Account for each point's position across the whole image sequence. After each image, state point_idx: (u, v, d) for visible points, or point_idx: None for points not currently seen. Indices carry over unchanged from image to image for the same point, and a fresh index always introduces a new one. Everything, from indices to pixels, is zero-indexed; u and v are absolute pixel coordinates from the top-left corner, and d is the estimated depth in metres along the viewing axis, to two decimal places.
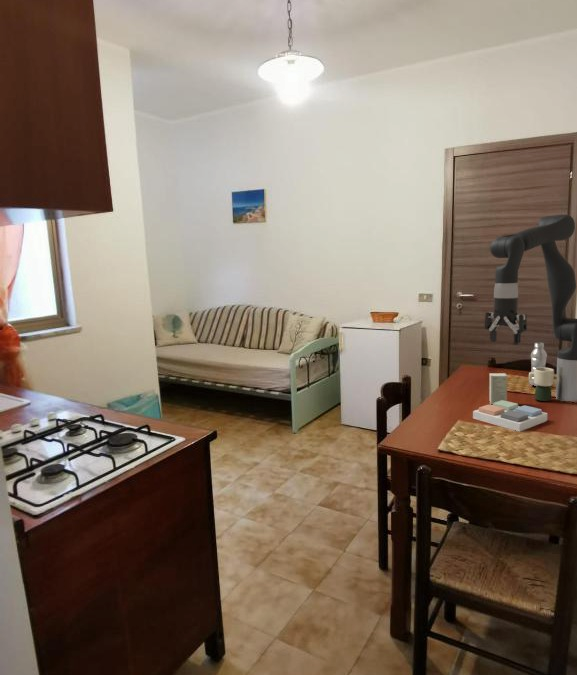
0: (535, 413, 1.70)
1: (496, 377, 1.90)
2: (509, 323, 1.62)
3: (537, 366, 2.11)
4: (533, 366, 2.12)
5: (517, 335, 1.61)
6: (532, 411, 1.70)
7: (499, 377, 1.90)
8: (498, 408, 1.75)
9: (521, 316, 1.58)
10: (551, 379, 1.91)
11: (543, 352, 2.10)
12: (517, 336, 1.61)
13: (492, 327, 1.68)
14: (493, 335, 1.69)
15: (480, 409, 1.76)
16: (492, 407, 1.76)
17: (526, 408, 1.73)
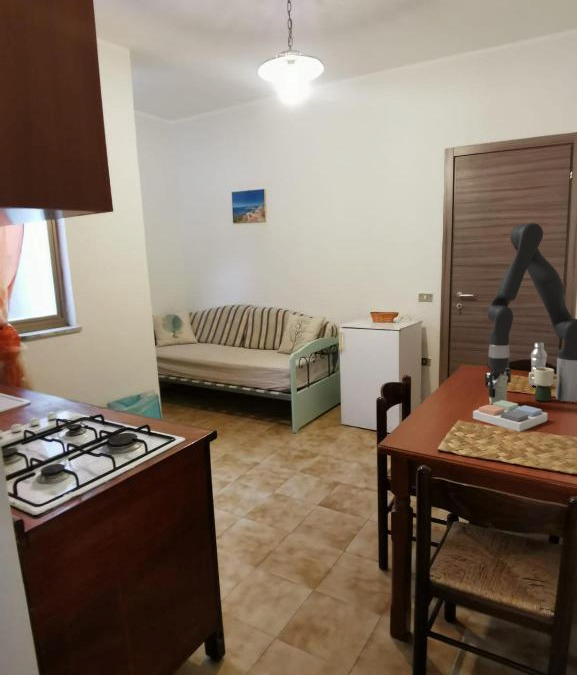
0: (535, 413, 1.70)
1: None
2: None
3: (537, 366, 2.11)
4: (533, 366, 2.12)
5: None
6: (532, 411, 1.70)
7: None
8: (498, 408, 1.75)
9: (510, 369, 1.94)
10: (551, 379, 1.91)
11: (543, 352, 2.10)
12: None
13: (495, 384, 1.90)
14: None
15: (480, 409, 1.76)
16: (492, 407, 1.76)
17: (526, 408, 1.73)
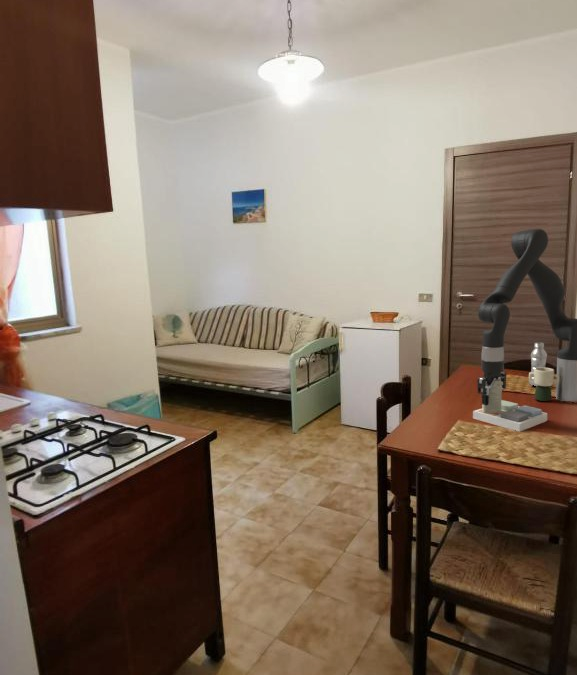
0: (535, 413, 1.70)
1: None
2: None
3: (537, 366, 2.11)
4: (533, 366, 2.12)
5: None
6: (532, 411, 1.70)
7: None
8: None
9: (505, 374, 1.76)
10: (551, 379, 1.91)
11: (543, 352, 2.10)
12: None
13: (488, 391, 1.72)
14: None
15: None
16: None
17: (526, 408, 1.73)
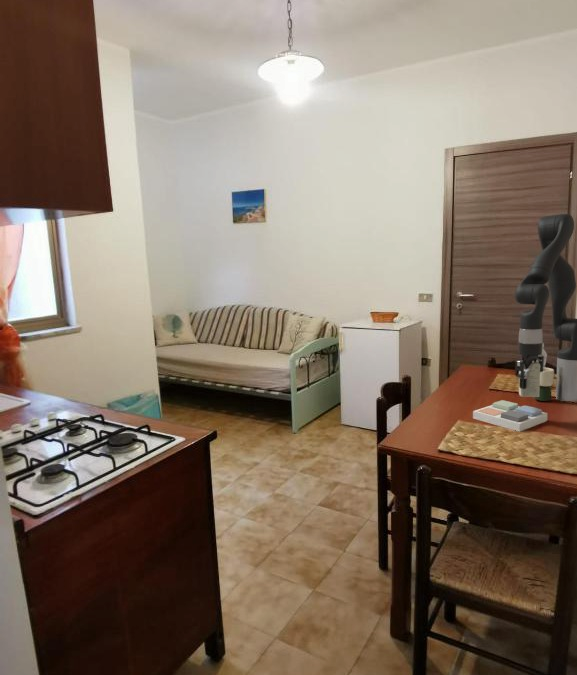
0: (535, 413, 1.70)
1: None
2: None
3: None
4: None
5: None
6: (532, 411, 1.70)
7: None
8: (498, 411, 1.75)
9: (543, 357, 1.72)
10: (551, 379, 1.91)
11: (543, 352, 2.10)
12: None
13: (526, 374, 1.68)
14: None
15: None
16: (492, 410, 1.76)
17: (526, 408, 1.73)
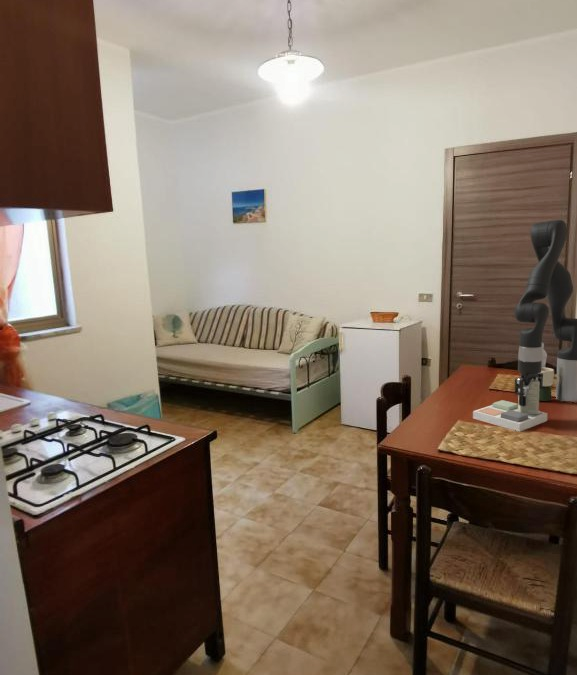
0: None
1: None
2: None
3: None
4: None
5: None
6: (532, 415, 1.70)
7: None
8: (498, 411, 1.75)
9: (542, 374, 1.73)
10: (551, 379, 1.91)
11: (543, 352, 2.10)
12: None
13: (526, 391, 1.69)
14: None
15: None
16: (492, 410, 1.76)
17: None
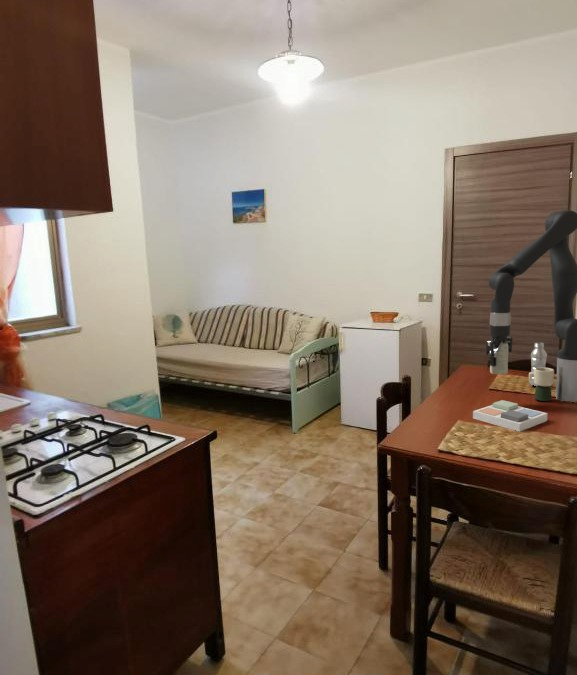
0: None
1: None
2: None
3: (537, 366, 2.11)
4: (533, 366, 2.12)
5: None
6: (532, 415, 1.70)
7: None
8: (498, 411, 1.75)
9: (511, 338, 1.92)
10: (551, 379, 1.91)
11: (543, 352, 2.10)
12: None
13: (496, 353, 1.88)
14: None
15: None
16: (492, 410, 1.76)
17: (526, 412, 1.73)
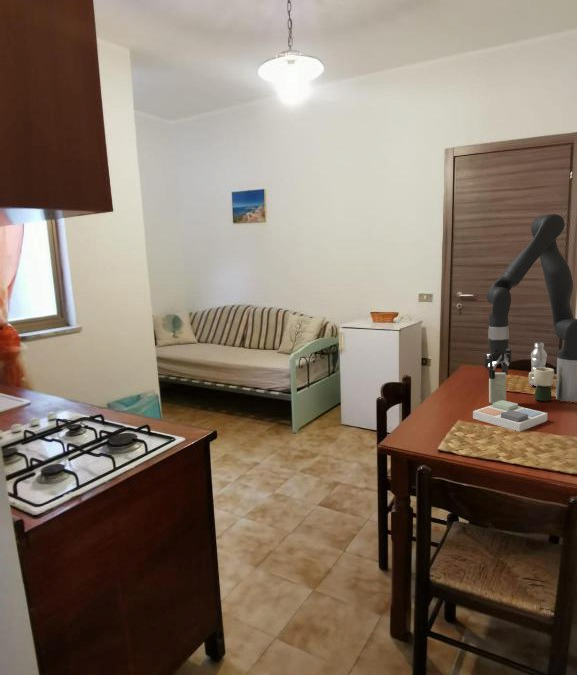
0: None
1: (495, 375, 1.92)
2: (506, 358, 1.92)
3: (537, 366, 2.11)
4: (533, 366, 2.12)
5: None
6: (532, 415, 1.70)
7: (498, 375, 1.91)
8: (498, 411, 1.75)
9: (510, 350, 1.95)
10: (551, 379, 1.91)
11: (543, 352, 2.10)
12: None
13: (495, 366, 1.90)
14: None
15: None
16: (492, 410, 1.76)
17: (526, 412, 1.73)
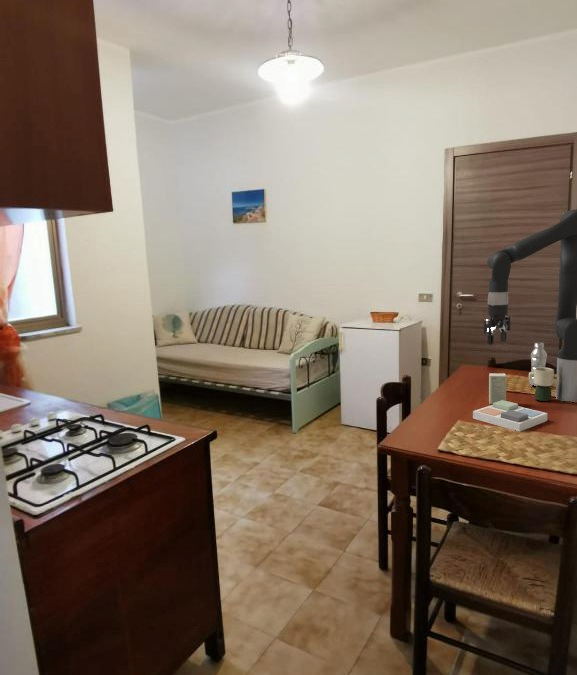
0: None
1: (495, 377, 1.90)
2: (505, 324, 1.93)
3: (537, 366, 2.11)
4: (533, 366, 2.12)
5: (505, 333, 1.96)
6: (532, 415, 1.70)
7: (498, 377, 1.90)
8: (498, 411, 1.75)
9: (509, 317, 1.95)
10: (551, 379, 1.91)
11: (543, 352, 2.10)
12: (505, 334, 1.96)
13: (493, 331, 1.90)
14: None
15: None
16: (492, 410, 1.76)
17: (526, 412, 1.73)
